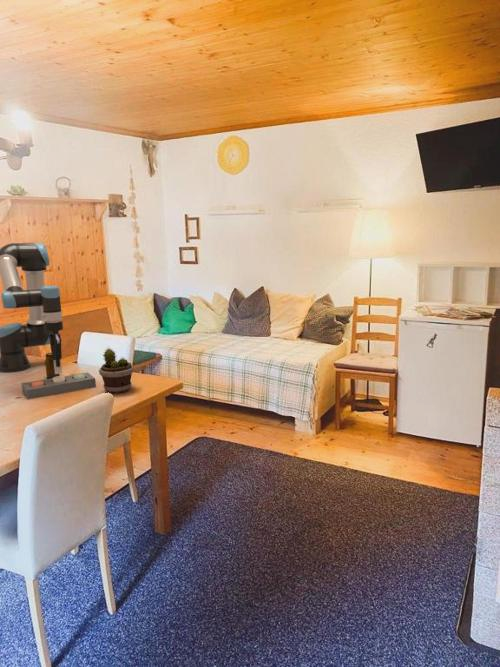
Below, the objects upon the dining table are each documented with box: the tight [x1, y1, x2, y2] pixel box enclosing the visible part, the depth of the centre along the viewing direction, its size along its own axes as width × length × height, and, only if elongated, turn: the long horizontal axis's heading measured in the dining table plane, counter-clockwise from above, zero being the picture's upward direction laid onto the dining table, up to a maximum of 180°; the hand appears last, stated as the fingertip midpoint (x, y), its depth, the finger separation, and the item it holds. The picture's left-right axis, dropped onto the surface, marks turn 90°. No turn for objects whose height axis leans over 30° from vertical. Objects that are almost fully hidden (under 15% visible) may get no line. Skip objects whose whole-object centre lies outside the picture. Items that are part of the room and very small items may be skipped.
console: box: [21, 372, 97, 400], centre depth 222 cm, size 12×29×4 cm, turn 124°
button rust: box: [31, 380, 44, 387], centre depth 217 cm, size 5×5×4 cm
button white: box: [53, 375, 65, 383], centre depth 221 cm, size 5×5×4 cm
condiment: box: [43, 352, 61, 379], centre depth 239 cm, size 7×8×12 cm
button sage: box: [73, 373, 85, 380], centre depth 226 cm, size 5×5×4 cm
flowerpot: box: [98, 347, 135, 394], centre depth 218 cm, size 14×15×20 cm
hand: (58, 373), depth 220 cm, fingers closed
